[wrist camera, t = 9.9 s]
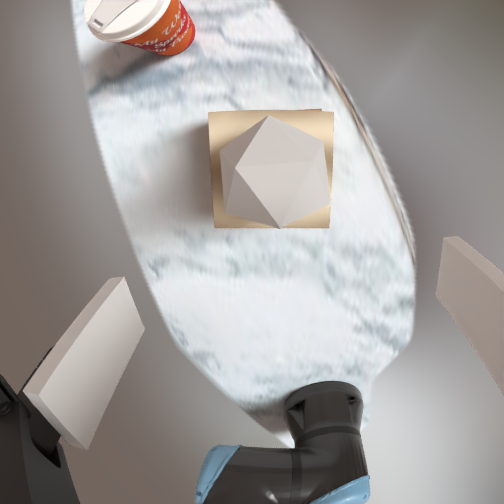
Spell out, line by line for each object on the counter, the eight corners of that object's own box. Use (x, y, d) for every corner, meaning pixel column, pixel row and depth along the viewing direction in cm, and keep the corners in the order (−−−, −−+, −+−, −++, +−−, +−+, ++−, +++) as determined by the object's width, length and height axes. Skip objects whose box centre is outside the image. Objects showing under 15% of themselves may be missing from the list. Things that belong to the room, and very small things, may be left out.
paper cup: (173, 75, 29) (117, 55, 16) (130, 44, 27) (64, 17, 14) (219, 27, 26) (190, -22, 14) (173, -3, 25) (126, -52, 12)
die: (207, 152, 26) (200, 243, 22) (253, 80, 20) (261, 169, 15) (281, 179, 30) (291, 264, 26) (336, 122, 24) (366, 212, 19)
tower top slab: (322, 215, 32) (329, 228, 28) (220, 215, 33) (214, 228, 29) (325, 112, 27) (333, 112, 24) (215, 113, 28) (208, 112, 24)
